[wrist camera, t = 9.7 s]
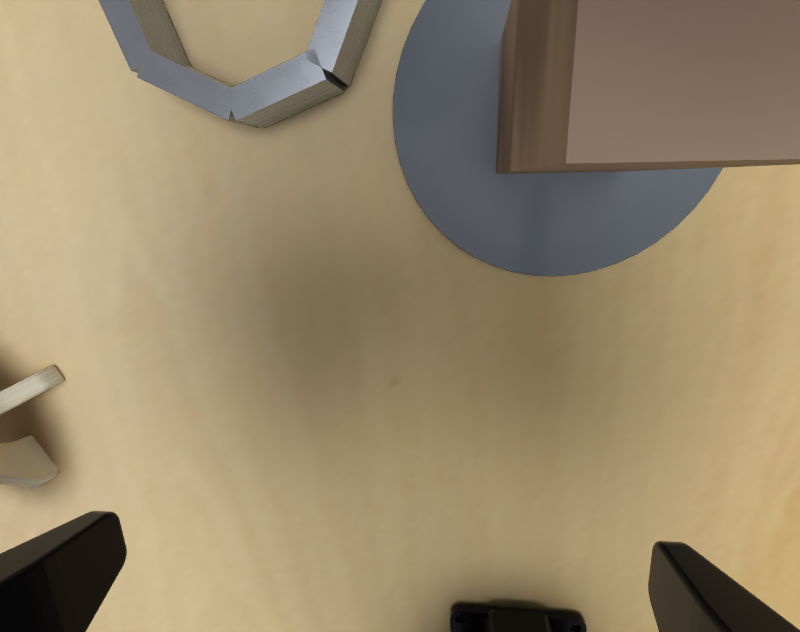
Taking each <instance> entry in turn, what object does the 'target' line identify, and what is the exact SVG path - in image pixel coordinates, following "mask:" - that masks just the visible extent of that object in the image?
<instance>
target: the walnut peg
mask: <svg viewBox="0 0 800 632" xmlns="http://www.w3.org/2000/svg"><path fill="white" fill-rule="evenodd" d="M791 164H800V0H511V4H510V7H509V11H508V15H507V19H506V23H505V27H504V31H503V35H502V39H501V50H500V76H499V102H498V128H497V154H496V174H509V173H568V172H623V171H647V170H671V169H695V168H719V167H743V166H767V165H791Z"/></svg>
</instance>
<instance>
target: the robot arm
mask: <svg viewBox="0 0 800 632" xmlns="http://www.w3.org/2000/svg"><path fill="white" fill-rule="evenodd" d="M126 555H127V549H126V544H125V540H124V536H123V532H122V528H121V524H120V520H119V517H118V516H117V515H116V514H115V513H113V512H106V511H92V512H89V513H86V514H84V515H82V516H80V517H78V518H76V519H73V520H71V521H69V522H67V523H65V524H63V525H61V526H59V527H56V528H54V529H52V530H50V531H48V532H46V533H44V534H41V535H39V536H37V537H35V538H33V539H31V540H29V541H27V542H24V543H22V544H20V545H18V546H16V547H14V548H12V549H9V550H7V551H5V552H3V553H1V554H0V632H86V630H87V628H88V627H89V625H90V623H91V621H92V620H93V618H94V616H95V614H96V613H97V611H98V609H99V607H100V605H101V604H102V602H103V600H104V598H105V597H106V595H107V593H108V591H109V590H110V588H111V586H112V584H113V583H114V581H115V579H116V577H117V576H118V574H119V572H120V570H121V569H122V567H123V565H124V562H125V559H126ZM648 590H649V597H650V602H651V606H652V609H653V612H654V616H655V619H656V622H657V626H658V629H659V632H800V630H799V629H798V628H796V627H795V626H794V625H792V624H791V623H790V622H788V621H787V620H786V619H785V618H783V617H782V616H781V615H779V614H778V613H777V612H775V611H774V610H773V609H771V608H770V607H769V606H767V605H766V604H765V603H763V602H762V601H761V600H760V599H758V598H757V597H756V596H754V595H753V594H752V593H750V592H749V591H748V590H746V589H745V588H744V587H742V586H741V585H740V584H739V583H737V582H736V581H735V580H733V579H732V578H731V577H729V576H728V575H727V574H725V573H724V572H723V571H721V570H720V569H719V568H717V567H716V566H715V565H714V564H712V563H711V562H710V561H708V560H707V559H706V558H704V557H703V556H702V555H700V554H699V553H698V552H696V551H695V550H694V549H693V548H691V547H690V546H688V545H687V544H685V543H681V542H666V541H658V542H656V543H655V544H654V546H653V550H652V558H651V566H650V574H649V583H648ZM458 615H462V616H458ZM450 622H451V632H586V631H587V629H586V624H585V620H584V618H583V617H582V616H581V615H580V614H577V613H568V612H555V611H542V610H528V609H515V608H502V607H489V606H476V605H463V604H458V605H455V606H453V607H452V608H451V616H450ZM574 624H577V625H574Z"/></svg>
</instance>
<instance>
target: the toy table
mask: <svg viewBox="0 0 800 632" xmlns="http://www.w3.org/2000/svg"><path fill="white" fill-rule="evenodd" d="M63 381H64V378H63V376H62V375H61V373H60V372H59V371H58V370H57V368H56V367H55V366H50V367H48V368H46V369H43V370H41V371H39V372H37V373H35V374H33V375H31V376H29V377H27V378H25V379H24V380H22V381H20V382H18V383H16V384H14V385H12V386H10V387H8V388H6V389H4V390H2V391H0V415H2V414H4V413H5V412H7V411H9V410H11V409H13V408H15V407H17V406H19V405H20V404H22V403H24V402H26V401H28V400H30V399H32V398H34V397H36V396H37V395H39V394H41V393H43V392H45V391H46V390H48V389H50V388H52V387H54V386H55V385H57V384H59V383H61V382H63ZM58 471H59V469H58V468H57V467H56V465H55V464H54V463H53V462H52V460H51V459H50V458H49V456H48V455H47V454H46V453H45V451H44V450H43V449H42V447H41V446H40V445H39V444H38V442H37V441H36V440H35V438H34V437H33V436H32V435H27V436H25V437H23V438H21V439H18V440H15V441H12V442H5V443H4V442H0V483H1V484H6V485H14V486H20V487H28V488H33V487H37V486H39V485H42V484H44V483H45V482H47V481H49V480H51V479H53V478H55V477H56V475H57V473H58Z"/></svg>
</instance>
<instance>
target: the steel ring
mask: <svg viewBox="0 0 800 632" xmlns="http://www.w3.org/2000/svg"><path fill="white" fill-rule="evenodd" d="M381 1H382V0H325V1H324V4H323V7H322V10H321V13H320V16H319V19H318V21H317V24H316V27H315V30H314V33H313V36H312V39H311V42H310V45H309V48H308V51H307V52H305V53H303V54H301V55H299V56H297V57H295V58H292V59H290V60H288V61H286V62H284V63H282V64H280V65H278V66H276V67H274V68H272V69H269V70H267V71H265V72H263V73H261V74H259V75H257V76H255V77H253V78H251V79H248V80H246V81H244V82H242V83H240V84H238V85H236V86H234V87H232V86H230V85H228V84H226V83H224V82H221V81H219V80H217V79H215V78H213V77H211V76H209V75H207V74H205V73H203V72H200V71H198V70H196V69H194V68H192V67H191V65H190V63H189V61H188V58H187V56H186V54H185V51H184V49H183V47H182V45H181V42H180V40H179V38H178V35H177V33H176V31H175V28H174V26H173V24H172V21H171V19H170V17H169V14H168V12H167V10H166V8H165V5H164V3H163V1H162V0H99V2H100V4H101V6H102V9H103V11H104V13H105V15H106V17H107V19H108V22H109V24H110V26H111V28H112V30H113V33H114V35H115V37H116V39H117V41H118V43H119V46H120V48H121V50H122V52H123V54H124V56H125V59H126V61H127V63H128V65H129V67H130V69H131V71H134V72H137V73H138V76H137V77H138V78H140V79H142V80H144V81H146V82H148V83H150V84H152V85H155V86H157V87H159V88H161V89H163V90H165V91H167V92H169V93H171V94H173V95H176V96H178V97H180V98H182V99H184V100H186V101H188V102H190V103H192V104H194V105H196V106H199V107H201V108H203V109H205V110H207V111H209V112H211V113H213V114H215V115H217V116H220V117H222V118H224V119H226V120H228V121H232V122H236V123H240V124H244V125H249V126H253V127H257V128H258V126H259V127H263V128H266V127H268V126H270V125H272V124H274V123H277V122H279V121H281V120H283V119H286V118H288V117H290V116H292V115H295V114H297V113H299V112H301V111H303V110H306V109H308V108H310V107H312V106H315V105H317V104H319V103H321V102H324V101H326V100H328V99H330V98H332V97H335V96H337V95H339V94H341V93H344V90H343V87H342V85H341V83H343V84H345V85H347V86H350V84H351V81H352V78H353V76H354V73H355V70H356V68H357V65H358V62H359V60H360V57H361V54H362V52H363V49H364V46H365V44H366V41H367V38H368V36H369V33H370V30H371V28H372V25H373V22H374V20H375V17H376V14H377V12H378V9H379V6H380V4H381Z"/></svg>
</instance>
